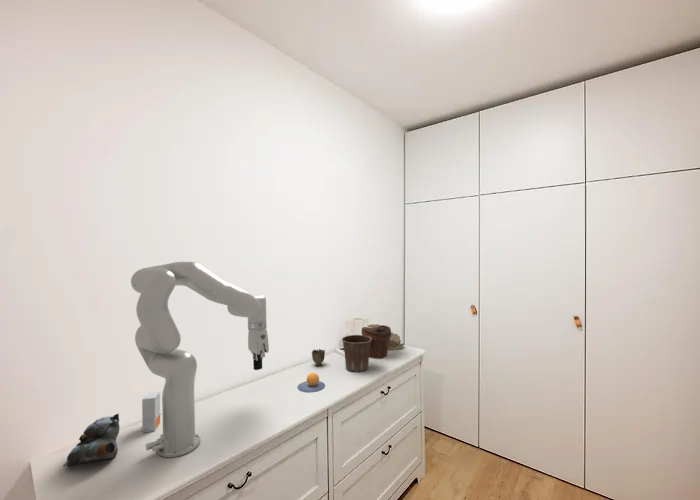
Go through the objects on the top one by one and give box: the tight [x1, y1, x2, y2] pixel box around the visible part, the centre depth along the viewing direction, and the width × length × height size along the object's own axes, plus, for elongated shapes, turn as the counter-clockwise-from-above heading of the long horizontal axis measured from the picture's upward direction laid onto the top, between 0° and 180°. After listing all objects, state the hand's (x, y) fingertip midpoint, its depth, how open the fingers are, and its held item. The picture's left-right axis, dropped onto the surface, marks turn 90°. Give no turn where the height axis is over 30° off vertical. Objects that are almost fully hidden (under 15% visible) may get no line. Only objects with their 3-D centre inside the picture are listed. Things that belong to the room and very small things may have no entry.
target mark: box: [296, 380, 326, 393], centre depth 158 cm, size 13×13×1 cm
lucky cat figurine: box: [62, 413, 120, 468], centre depth 105 cm, size 15×12×14 cm
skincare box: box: [141, 391, 161, 433], centre depth 123 cm, size 6×4×12 cm
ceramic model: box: [388, 332, 404, 351], centre depth 218 cm, size 14×11×10 cm
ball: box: [306, 371, 320, 386], centre depth 159 cm, size 6×6×6 cm
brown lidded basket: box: [360, 324, 392, 359], centre depth 203 cm, size 18×20×18 cm
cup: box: [311, 348, 326, 367], centre depth 187 cm, size 8×7×8 cm
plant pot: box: [341, 334, 372, 373], centre depth 181 cm, size 16×16×16 cm
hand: (257, 369), depth 139 cm, fingers closed
